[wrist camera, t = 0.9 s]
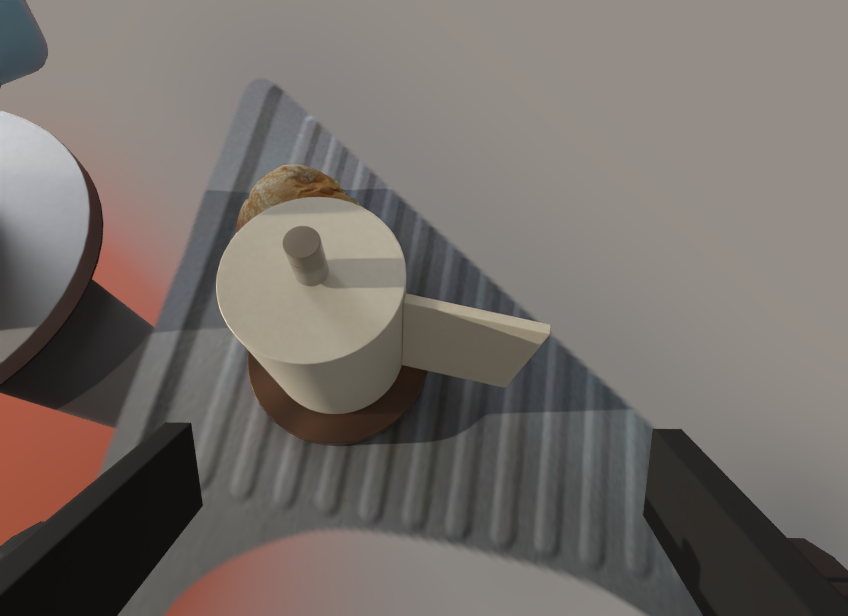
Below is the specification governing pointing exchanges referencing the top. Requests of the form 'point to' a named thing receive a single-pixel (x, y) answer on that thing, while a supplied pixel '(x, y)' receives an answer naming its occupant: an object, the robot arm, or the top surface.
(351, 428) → the towel holder
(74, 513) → the robot arm
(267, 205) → the bread roll
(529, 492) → the top surface
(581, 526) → the top surface
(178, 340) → the top surface
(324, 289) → the paper towel roll
